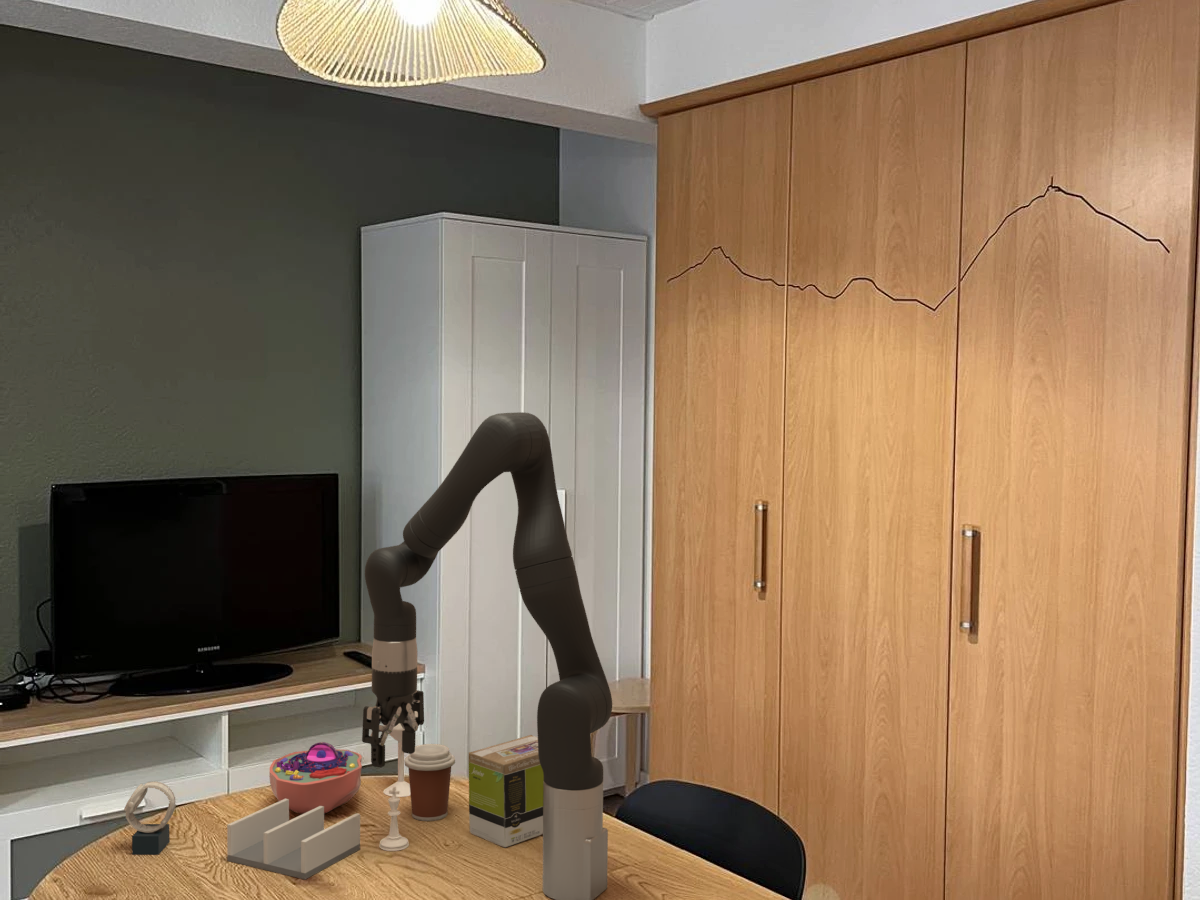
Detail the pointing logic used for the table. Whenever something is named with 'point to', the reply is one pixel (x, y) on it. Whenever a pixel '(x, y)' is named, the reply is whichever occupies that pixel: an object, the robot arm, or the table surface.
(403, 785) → the champagne flute
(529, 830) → the tea box
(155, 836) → the watch
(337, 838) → the slot rack
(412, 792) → the coffee cup
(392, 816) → the chess piece
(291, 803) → the cell model
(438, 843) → the table surface
